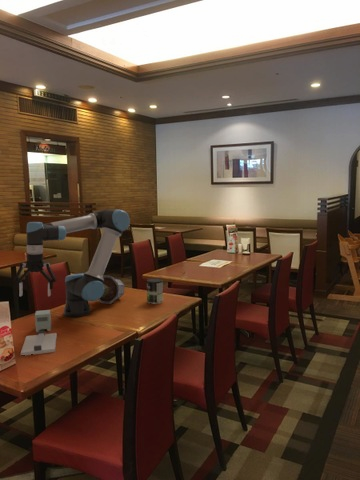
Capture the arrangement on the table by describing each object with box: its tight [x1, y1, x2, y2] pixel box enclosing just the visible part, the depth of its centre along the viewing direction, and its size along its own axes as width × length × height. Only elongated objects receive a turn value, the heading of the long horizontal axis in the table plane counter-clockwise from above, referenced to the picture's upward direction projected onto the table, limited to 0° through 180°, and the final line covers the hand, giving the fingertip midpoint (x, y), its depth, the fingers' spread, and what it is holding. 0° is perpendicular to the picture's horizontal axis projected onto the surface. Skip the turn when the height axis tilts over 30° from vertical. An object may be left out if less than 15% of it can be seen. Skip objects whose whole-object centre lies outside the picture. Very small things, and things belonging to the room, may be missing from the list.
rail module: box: [34, 309, 52, 333], centre depth 200 cm, size 7×7×9 cm
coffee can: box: [146, 277, 164, 305], centre depth 246 cm, size 10×10×14 cm
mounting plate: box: [20, 329, 58, 356], centre depth 180 cm, size 14×20×4 cm
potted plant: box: [97, 274, 125, 305], centre depth 243 cm, size 18×18×30 cm
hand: (35, 295), depth 193 cm, fingers open, 13 cm apart
